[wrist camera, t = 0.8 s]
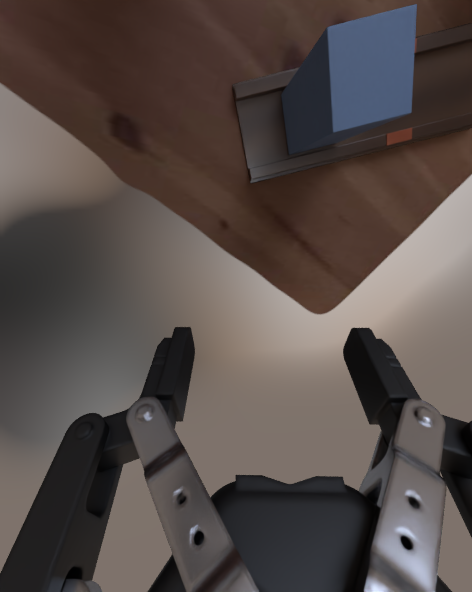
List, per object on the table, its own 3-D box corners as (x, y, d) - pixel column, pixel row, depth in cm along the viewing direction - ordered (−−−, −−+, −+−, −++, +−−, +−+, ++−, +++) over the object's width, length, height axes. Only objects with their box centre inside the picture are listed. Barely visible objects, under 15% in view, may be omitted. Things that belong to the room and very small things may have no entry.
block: (281, 94, 27) (326, 26, 16) (334, 80, 27) (417, 3, 16) (288, 155, 29) (333, 132, 18) (337, 142, 29) (411, 113, 18)
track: (232, 85, 27) (233, 79, 26) (484, 20, 26) (498, 11, 25) (250, 183, 31) (252, 183, 30) (470, 128, 30) (481, 125, 29)
